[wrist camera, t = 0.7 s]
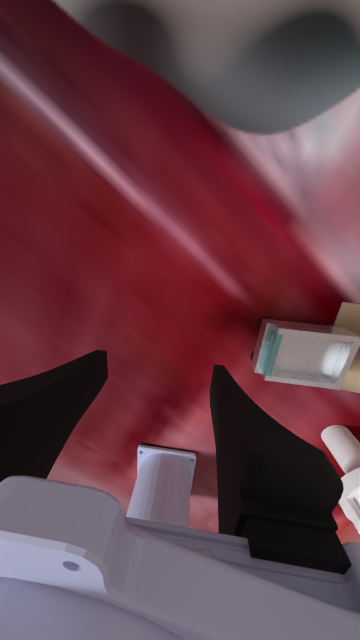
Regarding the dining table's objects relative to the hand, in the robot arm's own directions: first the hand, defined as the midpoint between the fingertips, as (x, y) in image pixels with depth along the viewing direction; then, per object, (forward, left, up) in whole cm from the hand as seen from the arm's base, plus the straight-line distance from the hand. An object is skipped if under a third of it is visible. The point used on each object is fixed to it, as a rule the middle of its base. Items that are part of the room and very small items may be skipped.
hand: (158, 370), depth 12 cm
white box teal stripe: (0, -12, -8) cm, 14 cm away
